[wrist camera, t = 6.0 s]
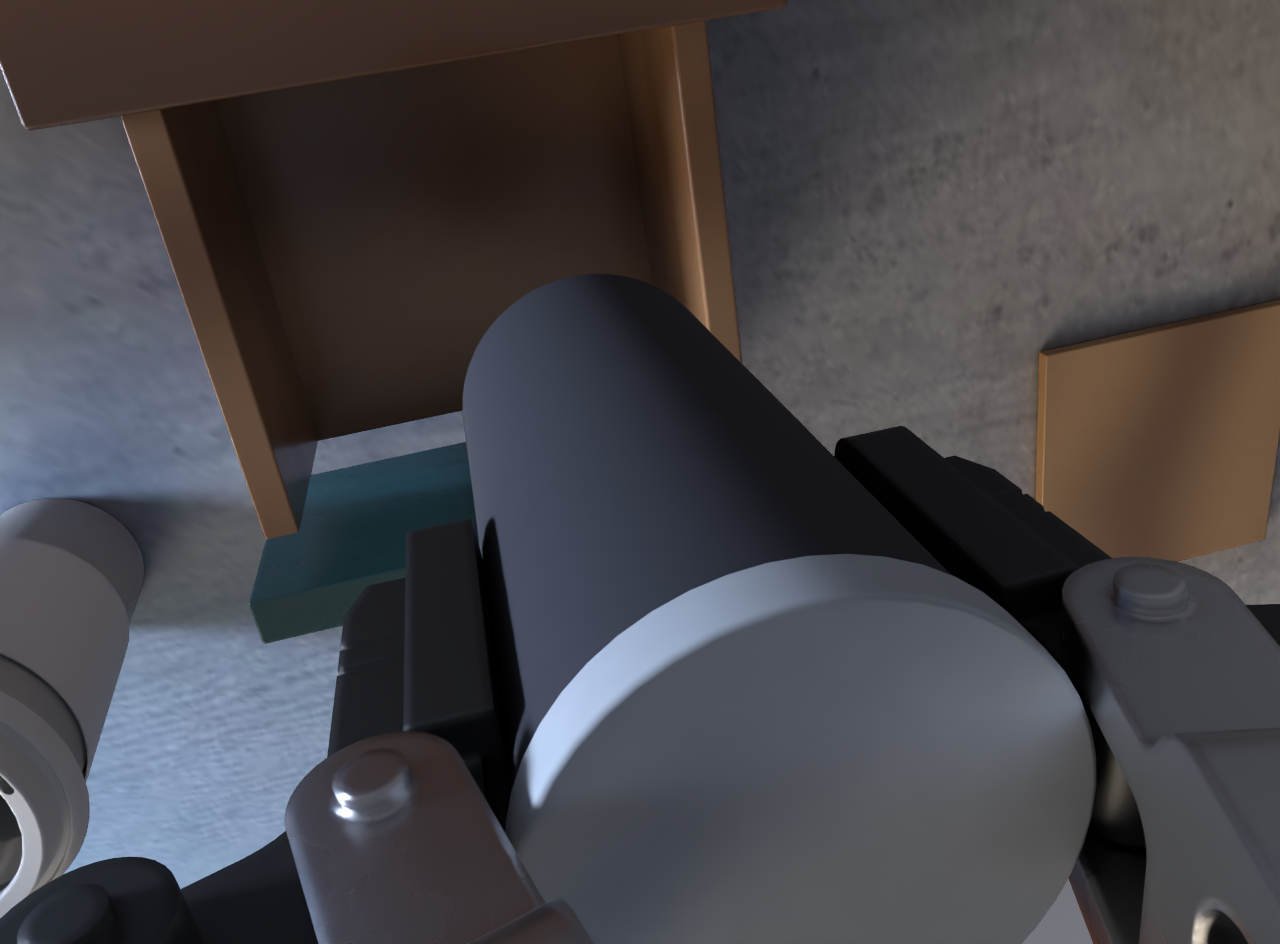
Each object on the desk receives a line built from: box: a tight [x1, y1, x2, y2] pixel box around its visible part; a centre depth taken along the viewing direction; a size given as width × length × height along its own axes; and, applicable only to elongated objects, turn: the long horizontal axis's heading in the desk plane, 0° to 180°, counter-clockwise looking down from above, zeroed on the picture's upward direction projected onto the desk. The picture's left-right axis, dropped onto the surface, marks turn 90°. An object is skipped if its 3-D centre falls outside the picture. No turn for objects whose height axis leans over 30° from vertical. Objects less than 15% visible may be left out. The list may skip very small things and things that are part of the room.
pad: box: [1035, 299, 1280, 562], centre depth 38 cm, size 10×10×1 cm
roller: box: [463, 274, 1096, 944], centre depth 12 cm, size 4×4×10 cm
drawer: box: [120, 21, 742, 644], centre depth 26 cm, size 20×14×7 cm
